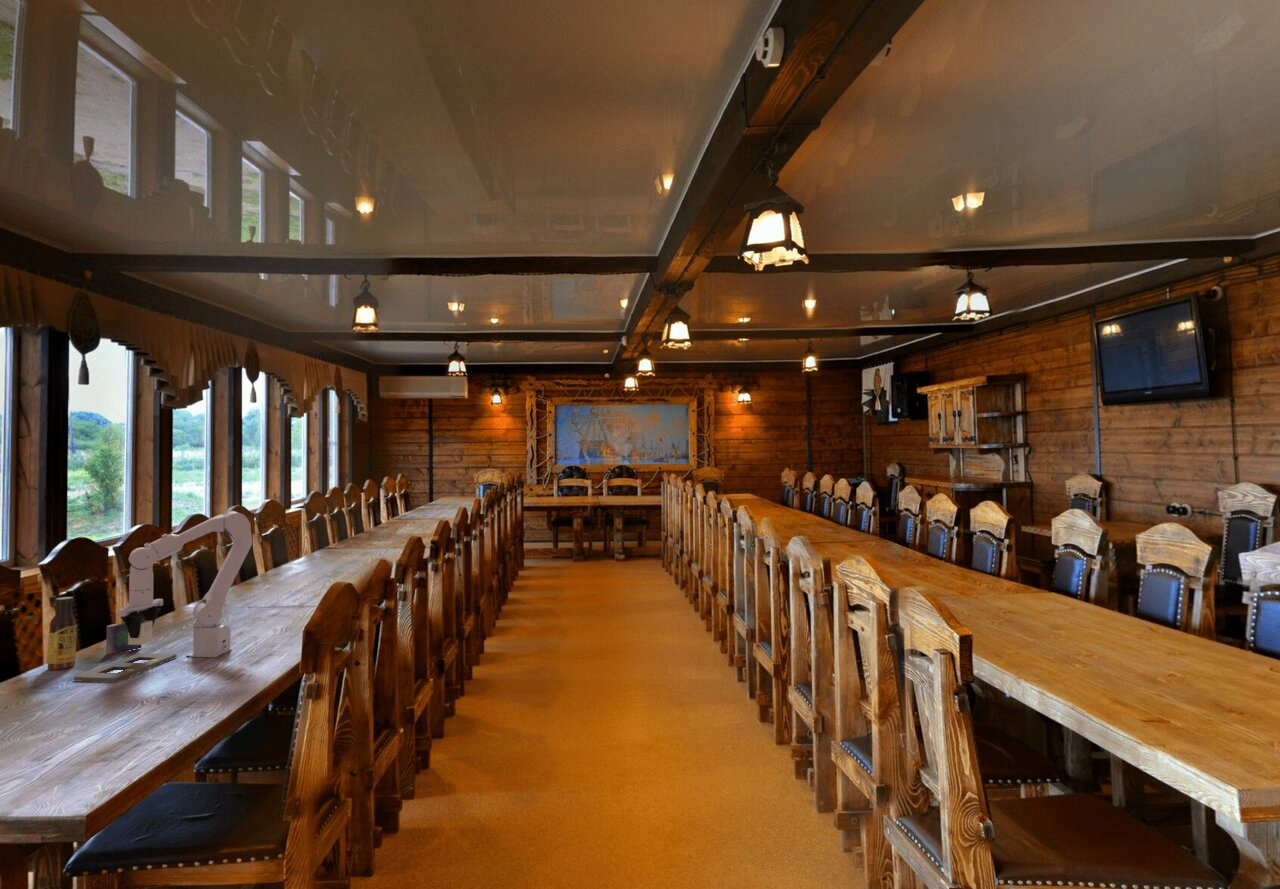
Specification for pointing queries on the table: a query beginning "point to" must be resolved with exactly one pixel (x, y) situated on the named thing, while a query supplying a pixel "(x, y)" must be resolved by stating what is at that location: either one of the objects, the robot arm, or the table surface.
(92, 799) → the table surface
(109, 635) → the flask
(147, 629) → the plug
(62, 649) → the sauce bottle
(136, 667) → the panel
